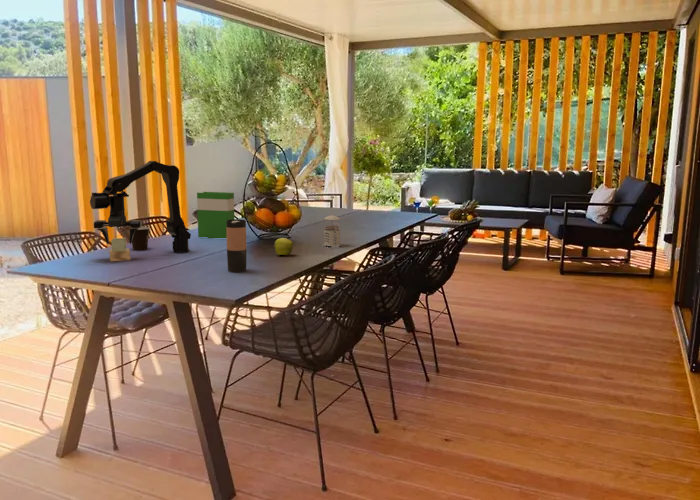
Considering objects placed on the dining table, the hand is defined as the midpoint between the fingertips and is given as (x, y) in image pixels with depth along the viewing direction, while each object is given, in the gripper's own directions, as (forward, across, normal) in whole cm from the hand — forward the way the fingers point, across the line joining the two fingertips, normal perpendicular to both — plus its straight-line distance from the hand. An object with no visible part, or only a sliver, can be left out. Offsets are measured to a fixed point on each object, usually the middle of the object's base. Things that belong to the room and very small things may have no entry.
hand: (119, 244), depth 255 cm
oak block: (+7, 0, 0) cm, 7 cm away
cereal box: (+7, +38, +58) cm, 70 cm away
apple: (+7, +70, +1) cm, 70 cm away
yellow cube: (+3, 0, 0) cm, 3 cm away
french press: (+7, +96, +24) cm, 99 cm away
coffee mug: (+7, +5, +25) cm, 26 cm away
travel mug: (+7, +50, -30) cm, 59 cm away
